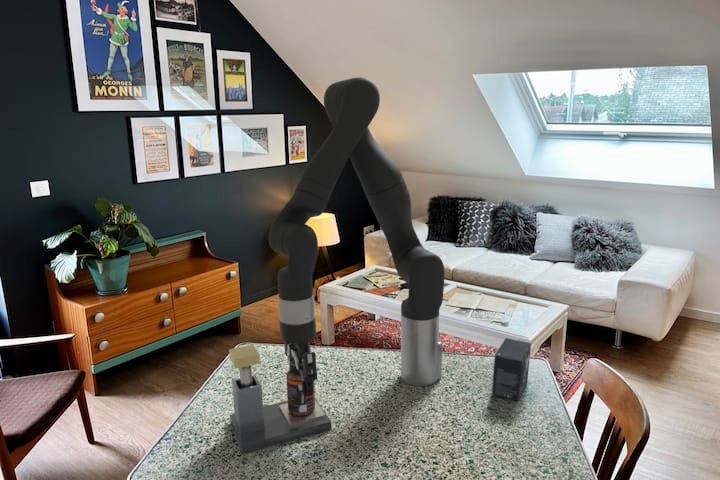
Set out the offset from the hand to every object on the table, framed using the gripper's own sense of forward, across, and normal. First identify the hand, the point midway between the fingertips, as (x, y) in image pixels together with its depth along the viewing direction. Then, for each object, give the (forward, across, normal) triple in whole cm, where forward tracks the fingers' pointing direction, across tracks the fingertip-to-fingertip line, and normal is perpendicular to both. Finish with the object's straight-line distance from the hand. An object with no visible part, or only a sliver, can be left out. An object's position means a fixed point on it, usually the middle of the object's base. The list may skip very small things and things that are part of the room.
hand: (301, 385), depth 118 cm
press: (+8, 0, +5) cm, 10 cm away
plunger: (+1, 0, +12) cm, 12 cm away
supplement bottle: (+6, 0, 0) cm, 6 cm away
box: (+9, -9, -49) cm, 51 cm away
